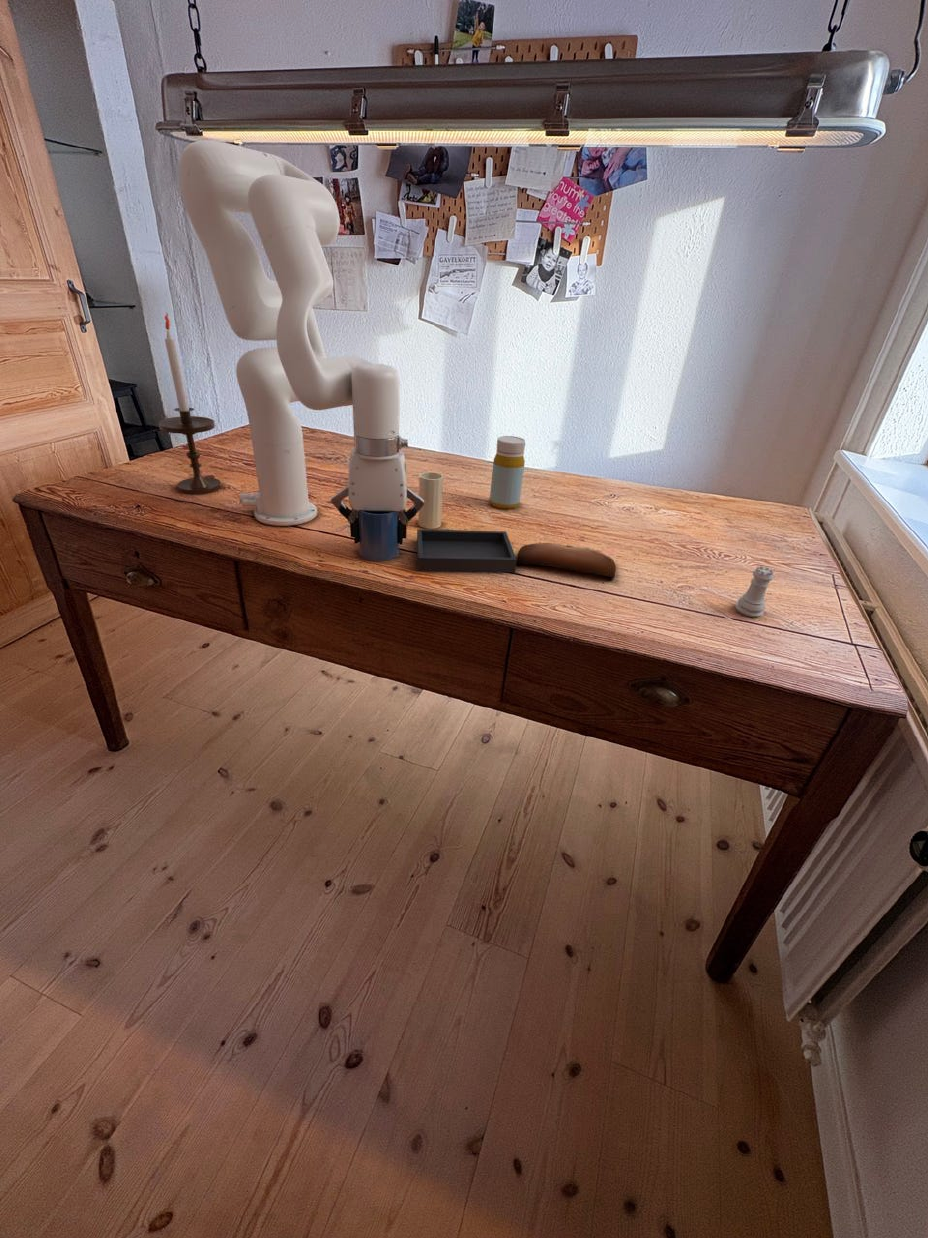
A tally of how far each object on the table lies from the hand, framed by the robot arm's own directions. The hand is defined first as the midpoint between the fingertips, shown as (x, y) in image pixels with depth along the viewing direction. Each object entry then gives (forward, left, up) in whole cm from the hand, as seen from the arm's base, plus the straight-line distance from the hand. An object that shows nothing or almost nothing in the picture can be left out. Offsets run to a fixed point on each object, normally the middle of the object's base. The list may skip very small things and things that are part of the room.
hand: (379, 540), depth 101 cm
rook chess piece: (+63, -20, -3) cm, 66 cm away
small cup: (+10, +14, -2) cm, 17 cm away
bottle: (+28, +27, -3) cm, 39 cm away
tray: (+16, -1, -2) cm, 16 cm away
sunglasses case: (+35, -4, -3) cm, 35 cm away
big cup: (0, 0, -2) cm, 2 cm away
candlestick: (-42, +32, -3) cm, 53 cm away
